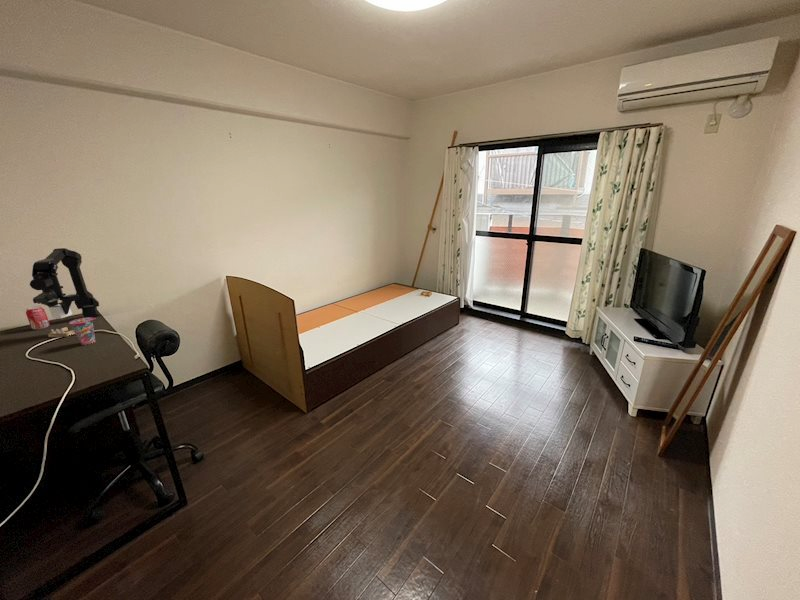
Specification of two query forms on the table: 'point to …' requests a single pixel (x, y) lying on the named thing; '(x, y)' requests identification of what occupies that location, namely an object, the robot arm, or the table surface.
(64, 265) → the robot arm
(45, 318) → the soda can
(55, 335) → the light brown u-shaped piece
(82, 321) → the cup
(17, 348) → the table surface
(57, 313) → the block
